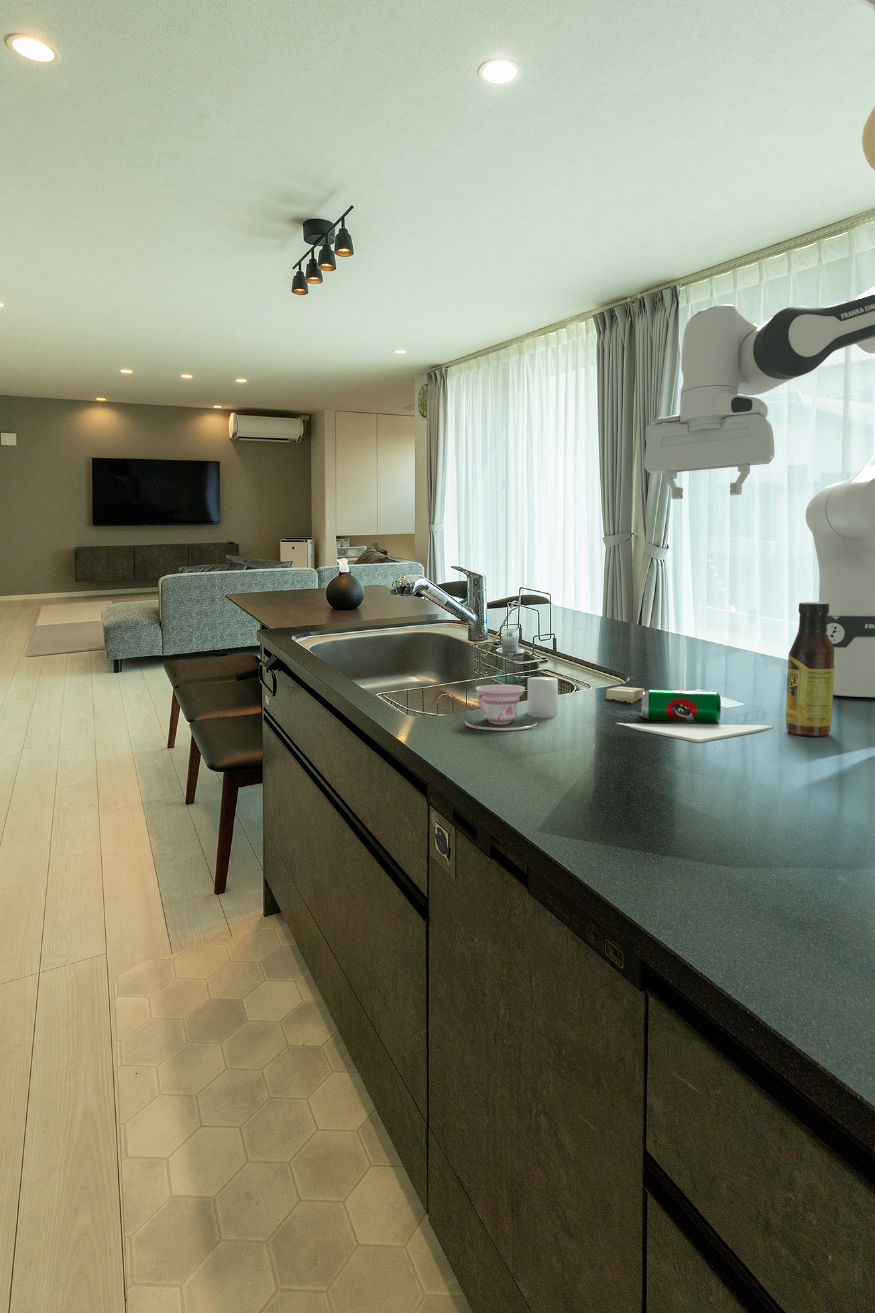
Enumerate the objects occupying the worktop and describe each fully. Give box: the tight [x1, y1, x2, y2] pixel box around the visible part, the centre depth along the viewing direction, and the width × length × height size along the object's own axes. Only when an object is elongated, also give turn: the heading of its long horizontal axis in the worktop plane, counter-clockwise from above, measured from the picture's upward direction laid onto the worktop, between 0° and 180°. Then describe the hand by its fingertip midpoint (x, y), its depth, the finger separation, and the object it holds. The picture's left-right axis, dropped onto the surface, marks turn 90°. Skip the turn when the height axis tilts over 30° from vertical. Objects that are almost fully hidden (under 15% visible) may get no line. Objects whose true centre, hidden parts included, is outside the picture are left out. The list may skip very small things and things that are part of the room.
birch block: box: [606, 686, 646, 704], centre depth 134 cm, size 5×5×4 cm
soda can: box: [641, 689, 722, 724], centre depth 120 cm, size 5×5×12 cm
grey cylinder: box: [526, 676, 559, 719], centre depth 124 cm, size 5×5×7 cm
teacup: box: [464, 684, 538, 732], centre depth 120 cm, size 12×12×6 cm
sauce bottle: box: [785, 601, 834, 737], centre depth 111 cm, size 7×6×20 cm
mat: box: [616, 722, 774, 743], centre depth 118 cm, size 18×18×1 cm
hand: (705, 496), depth 122 cm, fingers open, 8 cm apart
